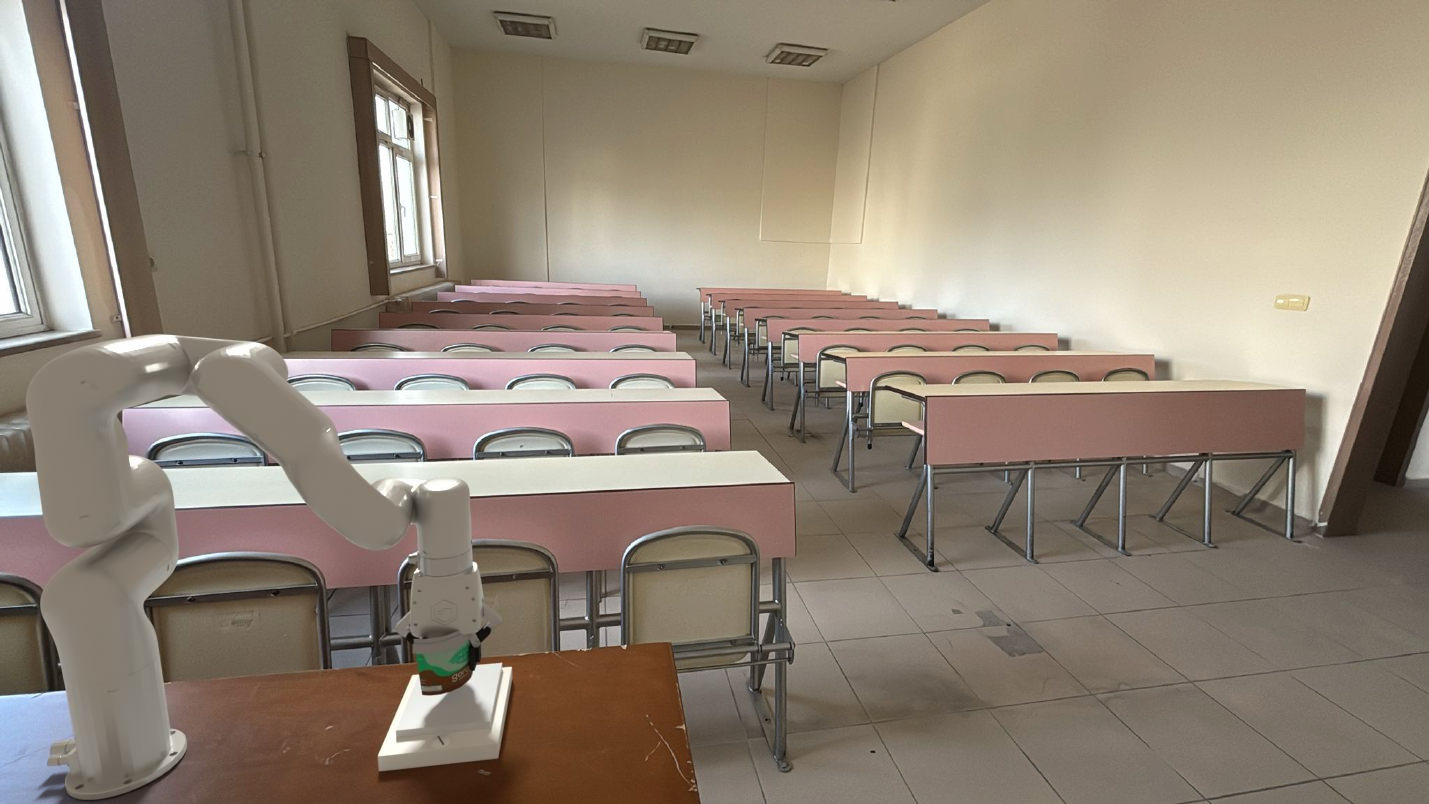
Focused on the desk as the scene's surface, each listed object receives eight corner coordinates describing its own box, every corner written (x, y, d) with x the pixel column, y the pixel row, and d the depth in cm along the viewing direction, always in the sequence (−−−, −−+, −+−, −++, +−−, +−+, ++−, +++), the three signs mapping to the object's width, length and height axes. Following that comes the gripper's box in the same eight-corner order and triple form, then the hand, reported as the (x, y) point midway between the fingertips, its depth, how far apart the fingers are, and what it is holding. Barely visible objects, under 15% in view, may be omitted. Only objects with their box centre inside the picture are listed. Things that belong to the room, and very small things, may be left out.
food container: (454, 707, 96) (450, 646, 94) (416, 701, 97) (411, 641, 94) (495, 658, 108) (492, 603, 105) (461, 653, 108) (457, 599, 106)
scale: (378, 771, 91) (377, 748, 90) (413, 688, 109) (412, 668, 108) (498, 758, 94) (497, 736, 93) (512, 679, 112) (511, 660, 112)
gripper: (376, 574, 93) (384, 687, 96) (502, 567, 96) (506, 677, 100) (391, 552, 100) (398, 658, 103) (508, 547, 103) (511, 649, 107)
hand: (451, 666), depth 101 cm, fingers closed on food container, 6 cm apart
